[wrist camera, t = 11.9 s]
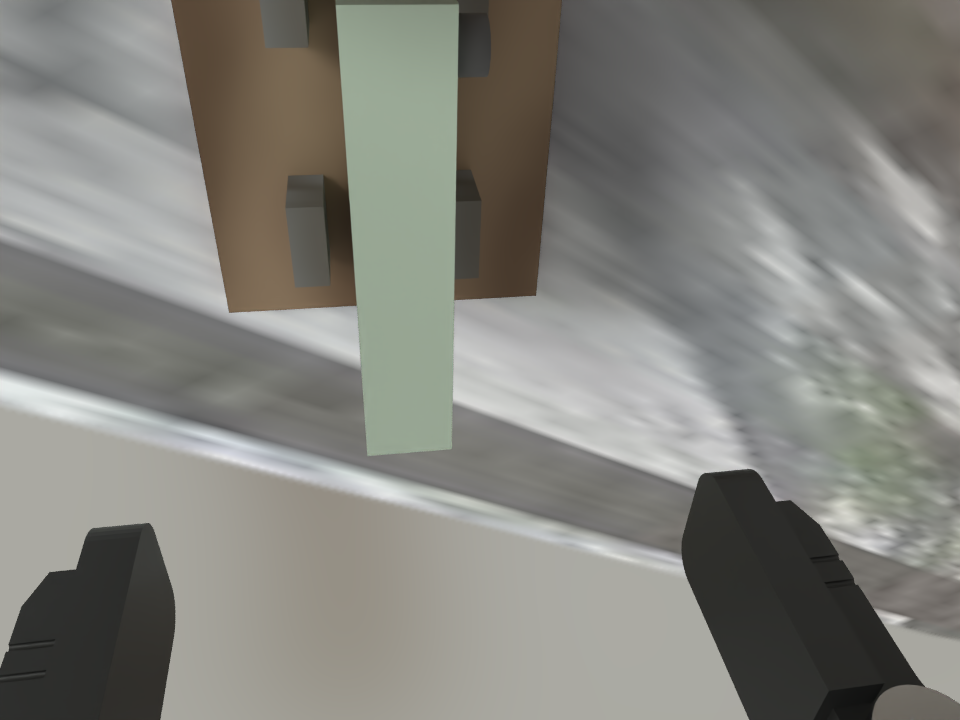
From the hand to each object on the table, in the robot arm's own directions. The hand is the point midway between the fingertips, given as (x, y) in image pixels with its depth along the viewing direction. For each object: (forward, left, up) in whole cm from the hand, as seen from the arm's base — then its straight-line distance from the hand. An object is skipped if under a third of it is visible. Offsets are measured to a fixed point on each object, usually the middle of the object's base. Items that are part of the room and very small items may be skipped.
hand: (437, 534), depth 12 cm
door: (0, -1, -19) cm, 19 cm away
